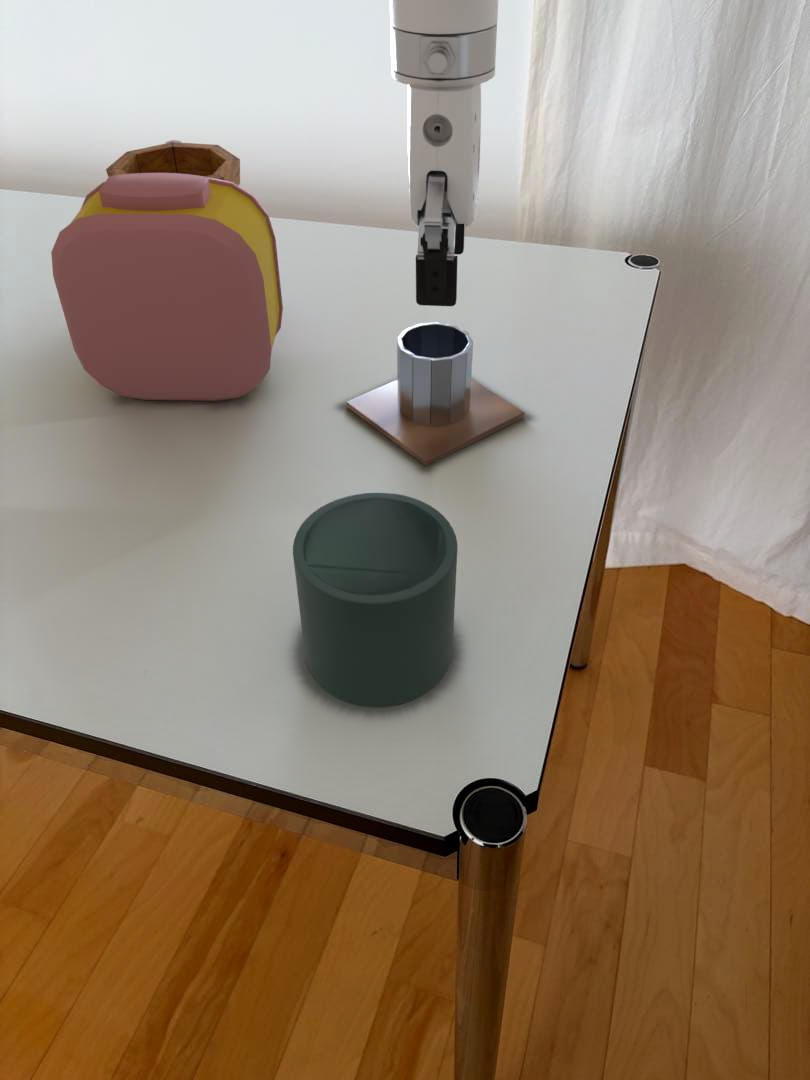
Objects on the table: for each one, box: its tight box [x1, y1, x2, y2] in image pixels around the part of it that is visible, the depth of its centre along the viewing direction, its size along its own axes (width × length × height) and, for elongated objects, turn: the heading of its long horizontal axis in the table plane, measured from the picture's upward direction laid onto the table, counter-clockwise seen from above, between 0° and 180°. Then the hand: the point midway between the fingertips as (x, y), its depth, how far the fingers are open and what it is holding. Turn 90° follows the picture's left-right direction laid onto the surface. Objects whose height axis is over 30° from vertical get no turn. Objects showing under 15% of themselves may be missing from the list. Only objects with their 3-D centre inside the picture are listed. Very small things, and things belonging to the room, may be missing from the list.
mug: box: [105, 139, 241, 187], centre depth 99 cm, size 20×14×15 cm
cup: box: [396, 321, 474, 427], centre depth 82 cm, size 7×7×7 cm
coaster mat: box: [345, 378, 525, 467], centre depth 85 cm, size 12×12×1 cm
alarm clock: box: [50, 173, 284, 402], centre depth 83 cm, size 18×11×19 cm, turn 88°
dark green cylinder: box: [292, 491, 458, 708], centre depth 60 cm, size 10×10×10 cm
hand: (441, 277), depth 76 cm, fingers open, 9 cm apart
